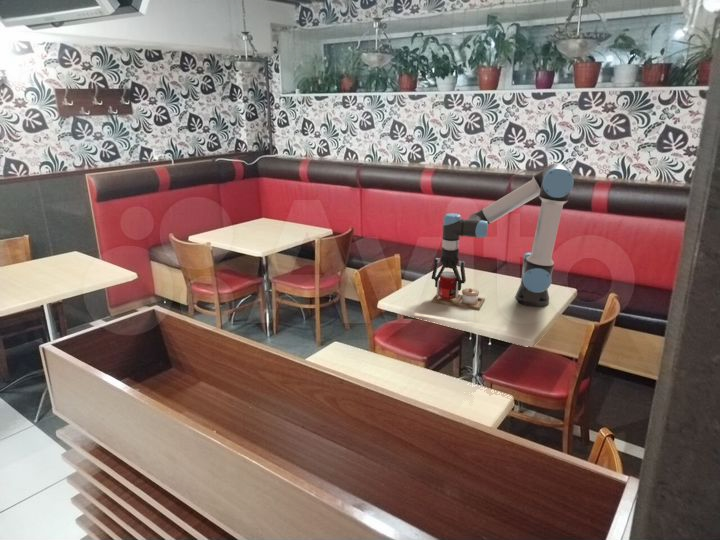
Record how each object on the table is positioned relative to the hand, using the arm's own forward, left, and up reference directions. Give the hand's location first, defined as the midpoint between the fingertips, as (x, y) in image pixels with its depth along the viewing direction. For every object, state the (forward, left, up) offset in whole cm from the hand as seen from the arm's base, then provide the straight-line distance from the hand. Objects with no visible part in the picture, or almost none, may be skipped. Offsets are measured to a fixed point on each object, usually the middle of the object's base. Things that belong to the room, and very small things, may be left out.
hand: (447, 295), depth 249 cm
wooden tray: (-5, 0, -4) cm, 6 cm away
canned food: (0, 0, -1) cm, 1 cm away
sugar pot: (-10, 0, -2) cm, 11 cm away
